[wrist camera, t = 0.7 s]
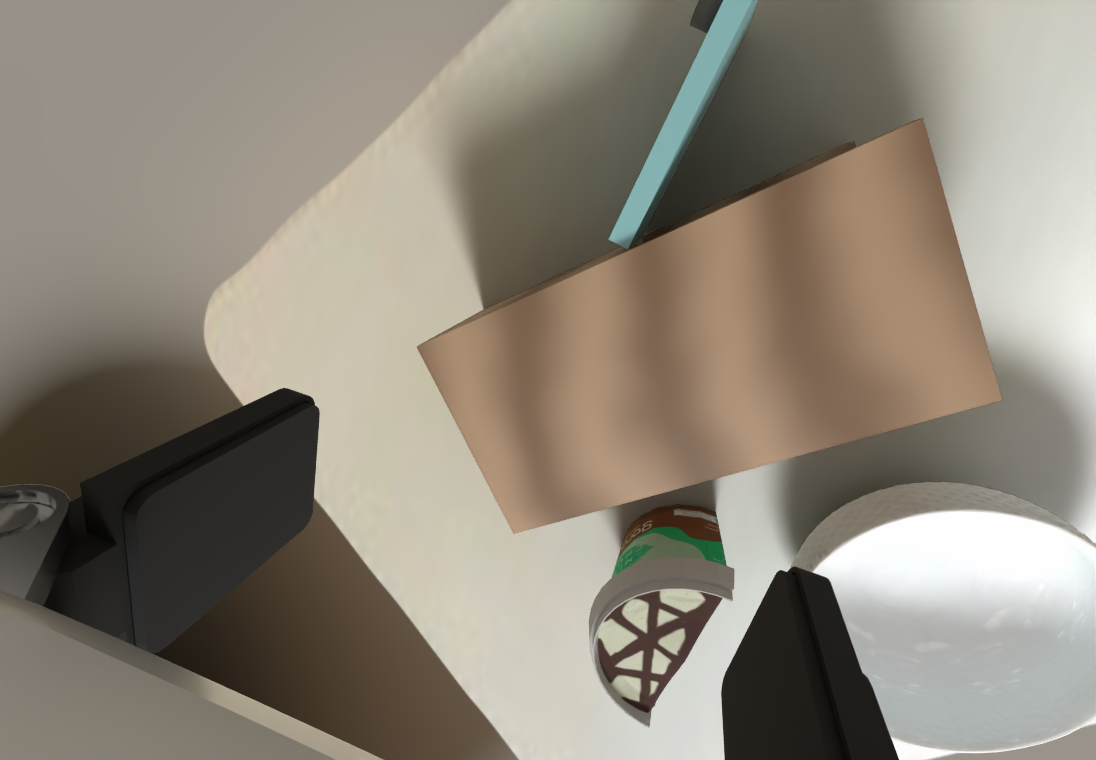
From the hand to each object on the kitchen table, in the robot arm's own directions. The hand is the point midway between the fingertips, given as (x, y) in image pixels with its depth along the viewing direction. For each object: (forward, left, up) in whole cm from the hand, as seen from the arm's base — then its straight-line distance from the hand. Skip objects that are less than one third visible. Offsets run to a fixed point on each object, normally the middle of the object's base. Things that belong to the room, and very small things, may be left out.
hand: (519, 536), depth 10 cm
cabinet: (-2, +3, -26) cm, 27 cm away
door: (-6, -8, -26) cm, 28 cm away
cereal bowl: (-10, +24, -27) cm, 37 cm away
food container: (+6, +18, -27) cm, 32 cm away
